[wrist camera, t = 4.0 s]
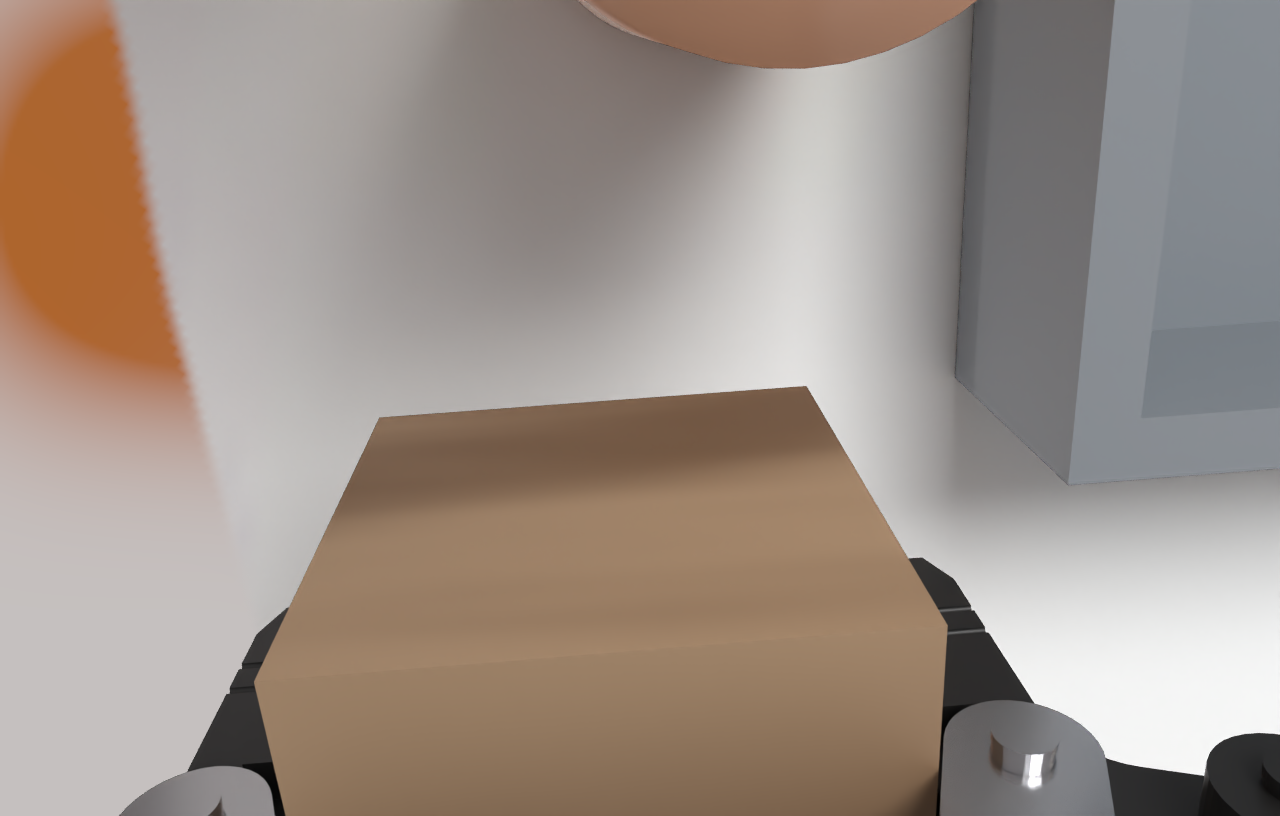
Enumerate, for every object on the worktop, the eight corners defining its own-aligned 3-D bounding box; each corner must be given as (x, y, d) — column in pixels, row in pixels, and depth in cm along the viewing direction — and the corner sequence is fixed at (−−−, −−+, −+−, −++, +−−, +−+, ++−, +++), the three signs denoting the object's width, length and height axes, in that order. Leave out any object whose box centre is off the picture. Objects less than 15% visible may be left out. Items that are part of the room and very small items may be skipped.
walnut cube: (379, 417, 12) (253, 681, 7) (806, 386, 12) (946, 625, 8) (435, 762, 14) (362, 1146, 9) (805, 730, 14) (919, 1094, 9)
